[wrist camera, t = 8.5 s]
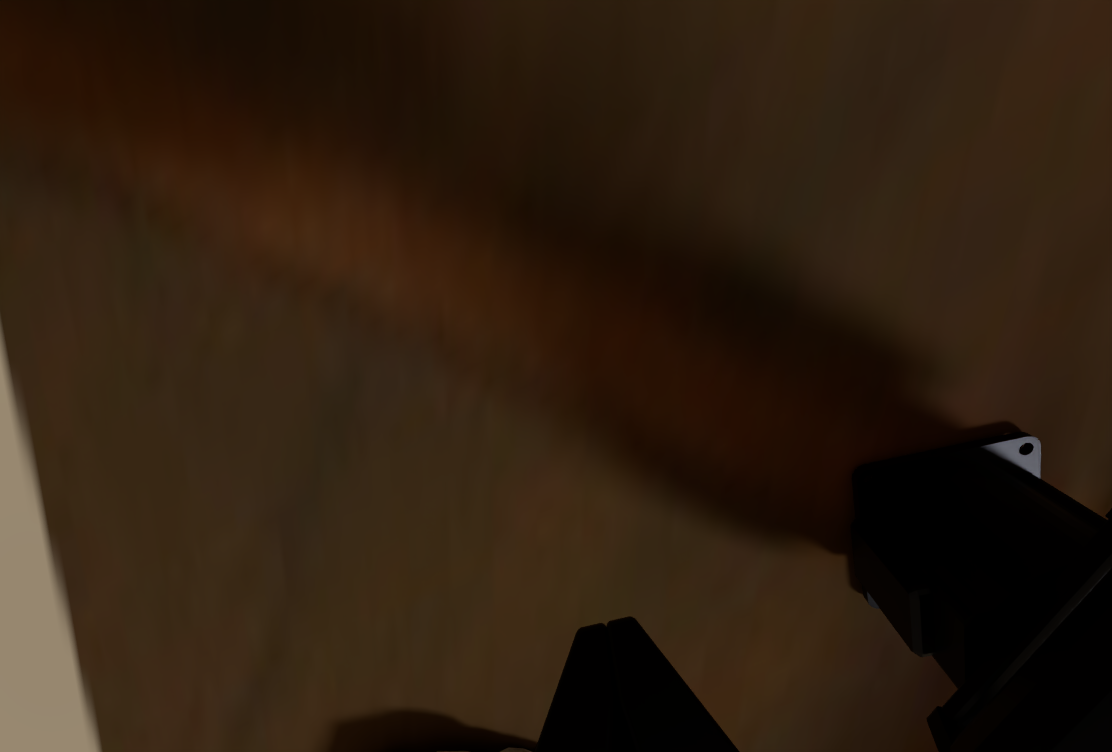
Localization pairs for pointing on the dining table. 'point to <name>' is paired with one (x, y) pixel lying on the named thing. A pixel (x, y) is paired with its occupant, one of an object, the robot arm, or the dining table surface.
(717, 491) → the dining table surface
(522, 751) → the clay tablet
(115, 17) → the dining table surface
